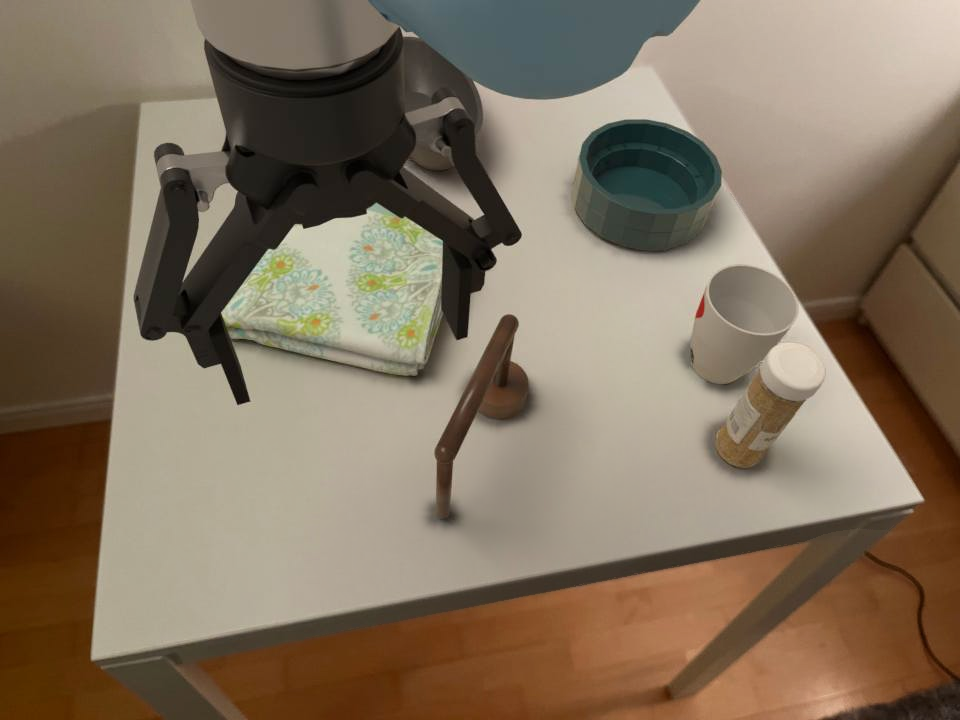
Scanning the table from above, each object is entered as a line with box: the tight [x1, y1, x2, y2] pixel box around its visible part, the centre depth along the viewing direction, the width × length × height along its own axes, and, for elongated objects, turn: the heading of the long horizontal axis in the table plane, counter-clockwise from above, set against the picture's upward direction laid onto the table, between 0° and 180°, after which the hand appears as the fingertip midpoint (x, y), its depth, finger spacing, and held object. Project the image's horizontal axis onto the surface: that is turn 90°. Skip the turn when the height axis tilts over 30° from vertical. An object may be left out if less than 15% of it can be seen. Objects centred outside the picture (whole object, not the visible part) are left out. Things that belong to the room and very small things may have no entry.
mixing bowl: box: [570, 118, 723, 251], centre depth 83 cm, size 16×16×6 cm
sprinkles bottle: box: [714, 341, 827, 469], centre depth 62 cm, size 5×5×14 cm
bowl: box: [403, 36, 484, 172], centre depth 88 cm, size 12×22×6 cm, turn 19°
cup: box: [689, 263, 800, 385], centre depth 69 cm, size 8×8×10 cm
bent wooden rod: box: [433, 313, 530, 520], centre depth 61 cm, size 16×5×12 cm, turn 158°
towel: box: [221, 203, 444, 377], centre depth 73 cm, size 18×21×5 cm
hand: (351, 353), depth 45 cm, fingers open, 13 cm apart
